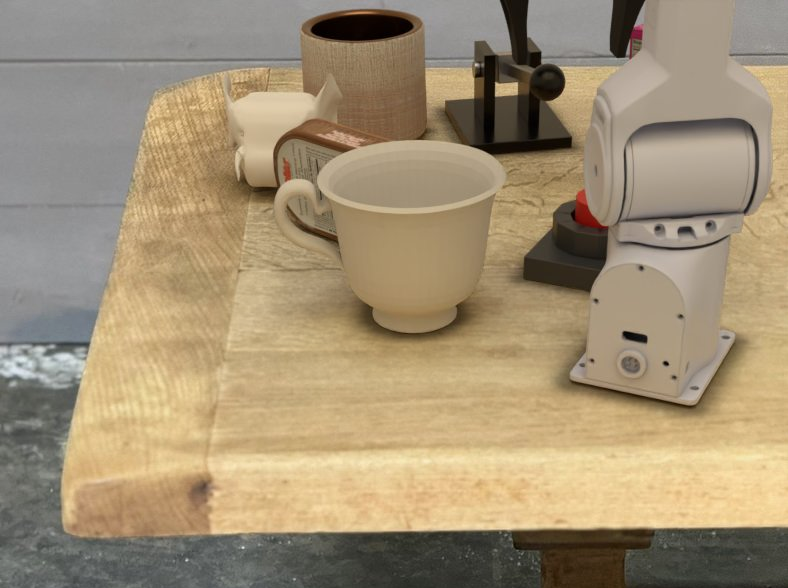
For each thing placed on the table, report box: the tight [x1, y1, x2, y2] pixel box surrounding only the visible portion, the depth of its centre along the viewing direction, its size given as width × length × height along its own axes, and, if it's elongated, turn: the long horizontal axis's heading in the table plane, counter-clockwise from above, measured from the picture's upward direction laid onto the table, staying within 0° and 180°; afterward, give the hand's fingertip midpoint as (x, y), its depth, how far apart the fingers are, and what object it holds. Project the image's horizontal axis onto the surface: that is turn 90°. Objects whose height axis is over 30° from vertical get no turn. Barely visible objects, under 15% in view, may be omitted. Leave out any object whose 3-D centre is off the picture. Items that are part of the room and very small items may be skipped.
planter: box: [299, 8, 428, 141], centre depth 116 cm, size 11×11×10 cm
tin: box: [273, 118, 393, 242], centre depth 97 cm, size 15×3×8 cm, turn 48°
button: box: [575, 188, 609, 229], centre depth 93 cm, size 4×4×2 cm
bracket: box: [444, 36, 573, 155], centre depth 117 cm, size 12×9×7 cm
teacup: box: [273, 139, 507, 334], centre depth 87 cm, size 12×15×10 cm
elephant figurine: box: [222, 71, 343, 188], centre depth 107 cm, size 10×12×9 cm
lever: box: [493, 50, 566, 102], centre depth 109 cm, size 17×3×3 cm, turn 8°
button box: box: [522, 199, 609, 292], centre depth 95 cm, size 10×8×4 cm
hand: (568, 57), depth 101 cm, fingers open, 7 cm apart
